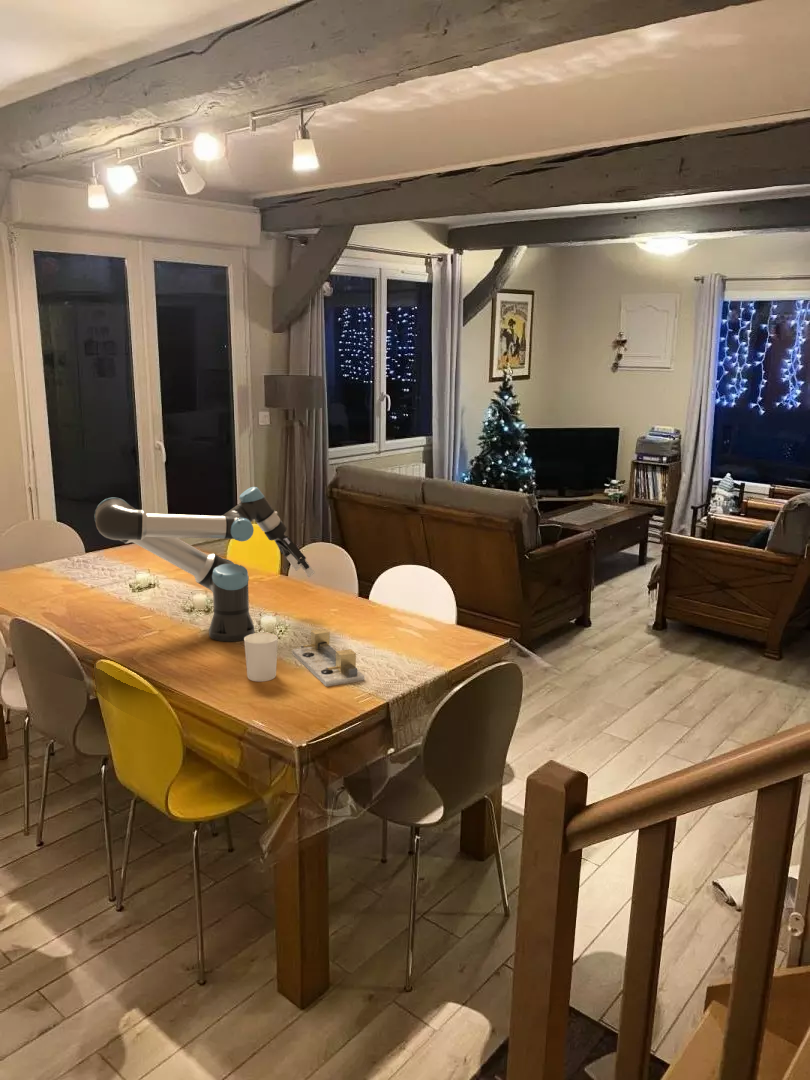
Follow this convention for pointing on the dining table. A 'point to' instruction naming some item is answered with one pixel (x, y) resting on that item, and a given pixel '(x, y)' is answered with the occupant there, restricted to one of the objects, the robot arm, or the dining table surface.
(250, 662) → the candle holder
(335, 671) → the bolt plate
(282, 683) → the dining table surface
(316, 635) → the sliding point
